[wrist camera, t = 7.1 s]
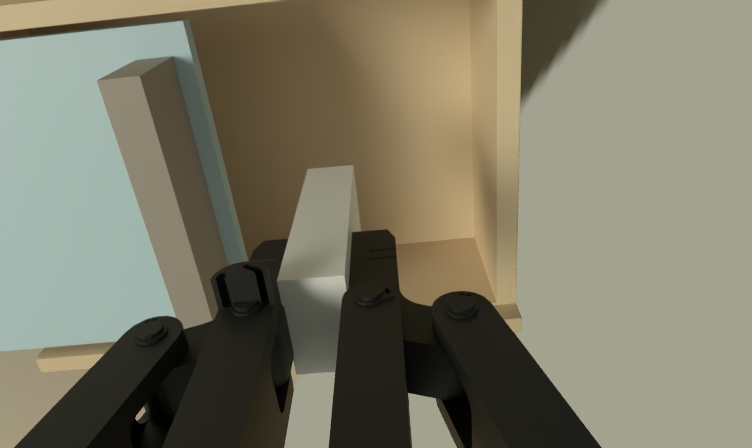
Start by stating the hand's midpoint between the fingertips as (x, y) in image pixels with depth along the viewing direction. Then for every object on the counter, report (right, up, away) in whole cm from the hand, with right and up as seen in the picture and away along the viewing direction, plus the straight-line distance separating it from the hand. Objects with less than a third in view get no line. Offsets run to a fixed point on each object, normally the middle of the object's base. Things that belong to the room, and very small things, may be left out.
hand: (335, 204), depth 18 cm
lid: (-14, 0, +2) cm, 14 cm away
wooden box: (-3, +4, +8) cm, 9 cm away
